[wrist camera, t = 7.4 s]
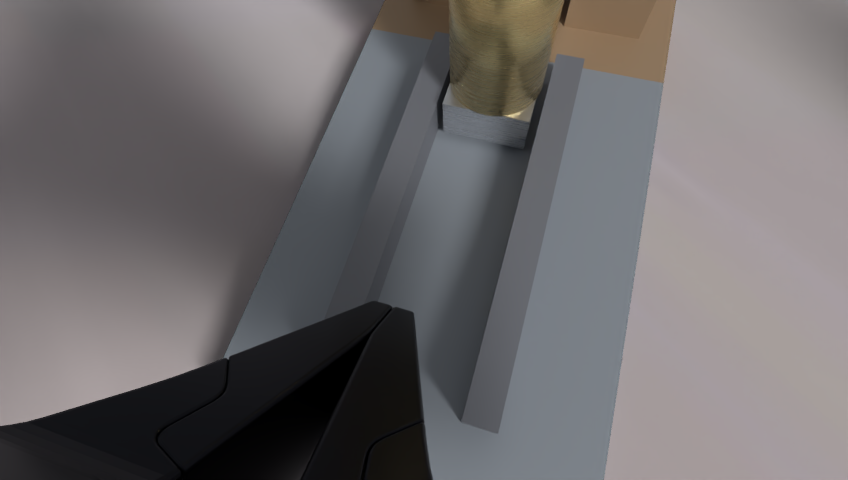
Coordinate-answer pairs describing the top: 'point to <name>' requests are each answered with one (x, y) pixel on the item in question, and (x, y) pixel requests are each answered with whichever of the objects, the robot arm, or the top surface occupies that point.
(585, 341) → the grey railed plate
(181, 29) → the top surface
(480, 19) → the brass ball knob
